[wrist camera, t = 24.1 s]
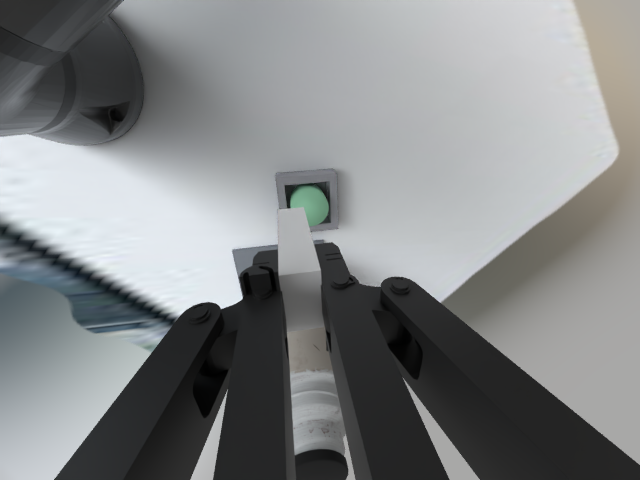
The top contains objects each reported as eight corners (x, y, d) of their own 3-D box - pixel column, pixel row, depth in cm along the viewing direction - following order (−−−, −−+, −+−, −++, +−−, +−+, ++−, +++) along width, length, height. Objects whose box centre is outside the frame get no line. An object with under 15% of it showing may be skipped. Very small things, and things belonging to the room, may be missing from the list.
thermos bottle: (325, 252, 43) (388, 450, 18) (312, 292, 46) (350, 508, 21) (276, 242, 41) (271, 449, 16) (265, 284, 44) (247, 512, 19)
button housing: (282, 226, 41) (282, 234, 38) (275, 173, 37) (275, 178, 34) (334, 220, 41) (338, 228, 39) (332, 168, 38) (336, 173, 35)
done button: (291, 217, 40) (292, 228, 36) (287, 184, 37) (288, 192, 34) (325, 214, 40) (329, 224, 37) (323, 181, 38) (327, 188, 34)
